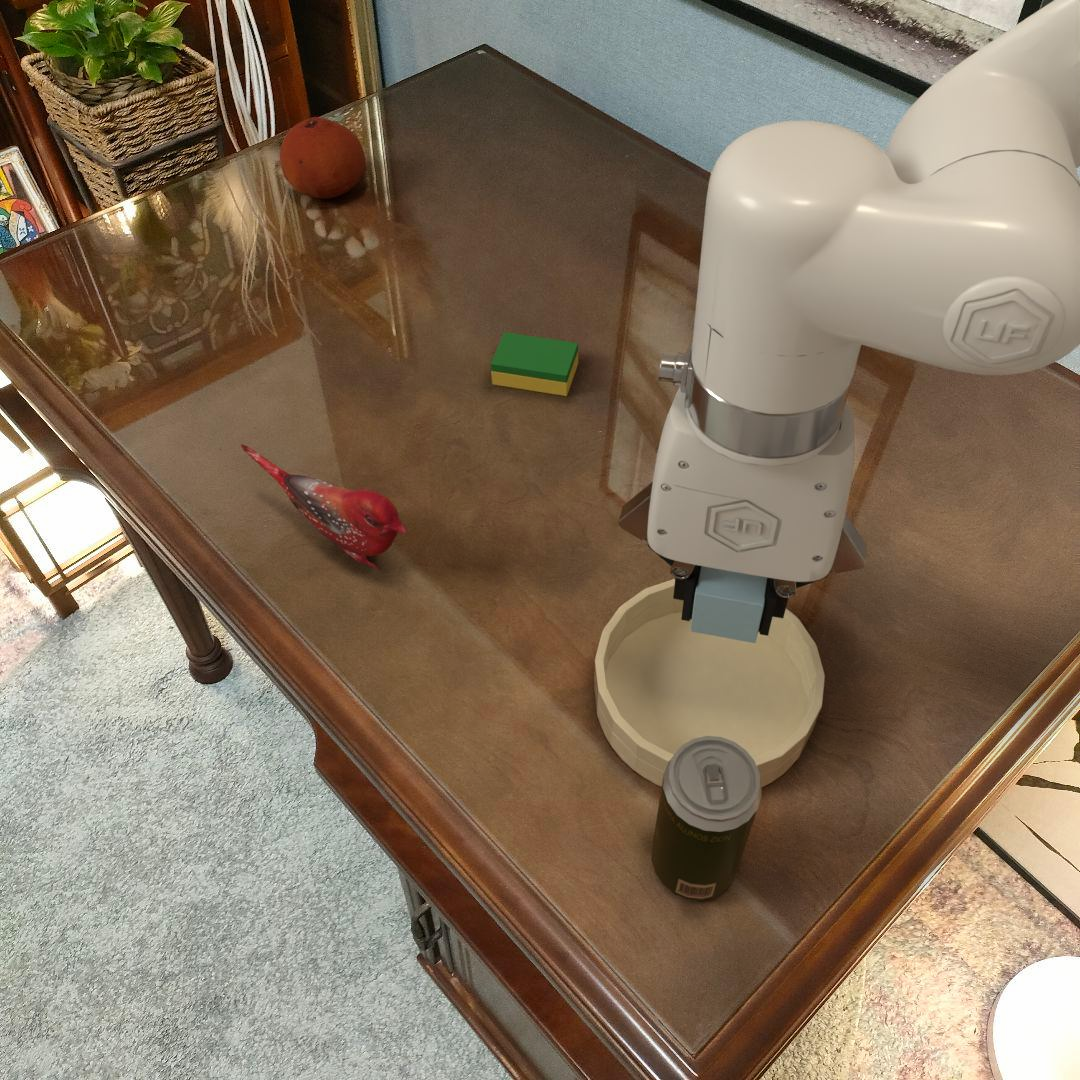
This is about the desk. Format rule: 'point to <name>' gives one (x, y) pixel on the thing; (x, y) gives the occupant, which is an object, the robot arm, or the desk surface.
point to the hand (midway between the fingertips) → (727, 607)
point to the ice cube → (728, 604)
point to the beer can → (704, 816)
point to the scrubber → (534, 364)
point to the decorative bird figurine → (340, 511)
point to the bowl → (703, 686)
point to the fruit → (322, 158)
